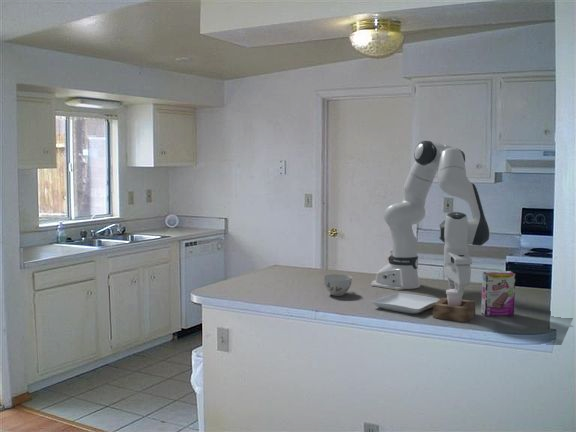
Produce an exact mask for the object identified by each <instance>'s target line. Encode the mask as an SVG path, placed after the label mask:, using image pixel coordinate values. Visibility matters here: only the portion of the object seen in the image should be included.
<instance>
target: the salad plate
mask: <svg viewBox="0 0 576 432" xmlns="http://www.w3.org/2000/svg"><path fill="white" fill-rule="evenodd" d="M440 299H441V298H436V297H431V296H426V295H418V294H412V293H403V292H394V293H391V294H389V295H385V296H383V297H380V298H377V299H375V300H372V301H371V303H372V304H373V305H374V306H375V307H378V308H380V309H384V310H388V311H394V312H400V313H405V314H413V315H414V314H415V315H416V314H419V313H422V312H425V311H426V310H429V309H431V308H433V304H434V303H436V302H437V301H439V300H440Z"/></svg>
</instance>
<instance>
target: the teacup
mask: <svg viewBox="0 0 576 432" xmlns="http://www.w3.org/2000/svg"><path fill="white" fill-rule="evenodd" d="M352 281H353V277H352V276H351V275H348V274H338V273H331V274H330V273H329V274H325V275H324V276H323V282H324V283H323V284H324V286H325V288H326V291H328V293H329V294H330V295H332V296H334V297H335V296H337V297H340V296H344V295H345V294H346V293H347V292H348V291H349V289H350V288H351V285H352Z"/></svg>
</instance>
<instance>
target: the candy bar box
mask: <svg viewBox="0 0 576 432" xmlns="http://www.w3.org/2000/svg"><path fill="white" fill-rule="evenodd" d="M481 281H482V282H481V303H480V304H481V305H480V308H481V309H480V312H481V314H482V315H483V316H484V317H514V314H515V297H516V296H515V294H516V293H515V292H516V291H515V290H516V273H514V272H513V271H511V270H505V271H502V270H501V271H500V270H499V271H491V270H490V271H487V270H486V271H482V279H481Z"/></svg>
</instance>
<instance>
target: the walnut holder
mask: <svg viewBox="0 0 576 432" xmlns="http://www.w3.org/2000/svg"><path fill="white" fill-rule="evenodd" d="M439 299H440V300H439V301H437V302H436V303H434V304H433V307H432V318H434V319H442V320H448V321H457V322H465V323H467V322H468V321H470V319H472V318H473V317H474V316H475V315H476V300H469V299H462V301H461V306H456V305H448V300H447V297H441V298H439Z"/></svg>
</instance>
